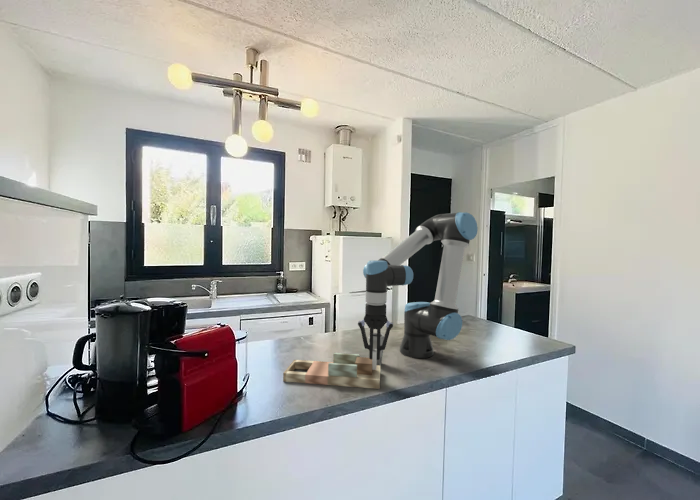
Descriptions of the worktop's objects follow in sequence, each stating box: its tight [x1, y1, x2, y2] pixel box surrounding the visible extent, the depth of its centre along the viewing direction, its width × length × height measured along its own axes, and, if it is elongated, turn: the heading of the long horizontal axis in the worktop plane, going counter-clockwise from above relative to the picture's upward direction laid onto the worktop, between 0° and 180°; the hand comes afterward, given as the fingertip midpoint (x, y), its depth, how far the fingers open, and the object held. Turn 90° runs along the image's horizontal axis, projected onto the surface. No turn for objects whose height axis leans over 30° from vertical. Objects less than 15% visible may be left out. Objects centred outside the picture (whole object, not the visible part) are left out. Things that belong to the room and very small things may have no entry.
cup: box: [367, 332, 385, 366], centre depth 128 cm, size 7×7×12 cm
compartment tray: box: [282, 352, 381, 390], centre depth 114 cm, size 34×13×7 cm, turn 83°
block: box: [355, 356, 373, 375], centre depth 113 cm, size 6×6×4 cm
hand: (374, 368), depth 112 cm, fingers closed
